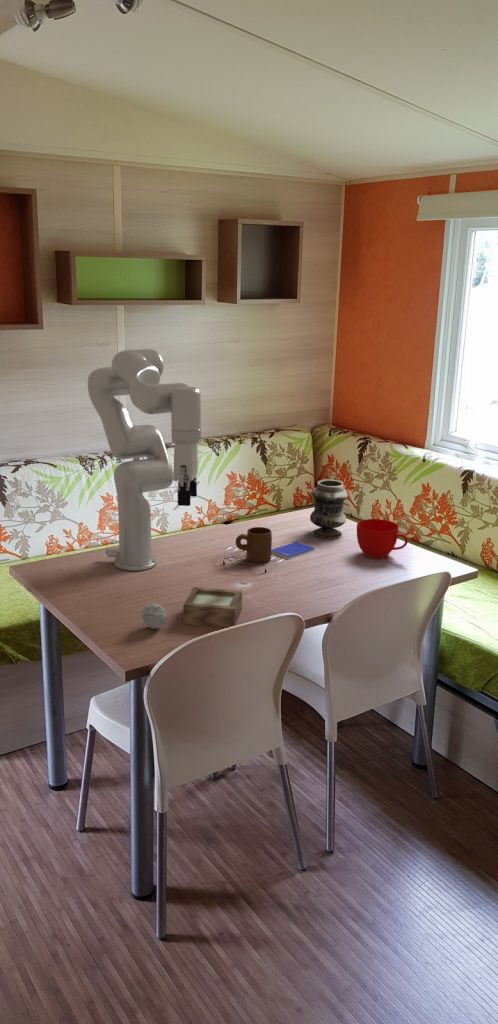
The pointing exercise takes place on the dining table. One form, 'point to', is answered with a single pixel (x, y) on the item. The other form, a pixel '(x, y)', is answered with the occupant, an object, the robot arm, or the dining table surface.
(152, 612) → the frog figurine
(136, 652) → the dining table surface
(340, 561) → the dining table surface
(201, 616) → the pedestal
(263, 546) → the mug
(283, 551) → the hard drive
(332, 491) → the apothecary jar
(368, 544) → the ceramic cup
